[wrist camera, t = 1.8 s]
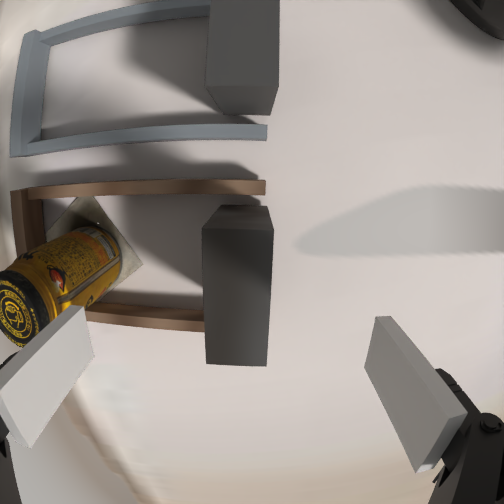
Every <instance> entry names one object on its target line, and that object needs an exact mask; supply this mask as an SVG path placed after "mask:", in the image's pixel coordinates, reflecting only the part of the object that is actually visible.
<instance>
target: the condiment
mask: <svg viewBox="0 0 504 504" xmlns="http://www.w3.org/2000/svg"><path fill="white" fill-rule="evenodd" d="M97 223H99V224H97ZM44 236H45V239H46V240H47V243H44V244H42V245H40V246H38V247H36V248H34V249H32V250H29V251H27V252H25V253H23V254H21V255H20V256H19V257H18V258H16V259H15V261H14V262H13V264H12V265H10V266H9V267H8V268H6V270H4V271H1V272H0V329H1V330H2V332H3V333H4V334H5V335H6V336H7V337H8V339H10V340H11V341H12V342H13V343H15V344H16V345H17V346H19V347H22V348H23V347H24V346H26V345H27V344H28V343H29V342H30V341H31V340H32V339H33V338H34V337H35V336H36V335H37V334H38V333H40V332H41V331H42V330H43V329H44V328H45V327H46V326H47V325H48V324H49V323H51V322H52V321H53V320H54V319H55V318H56V317H57V316H58V315H60V314H61V313H62V312H63V311H64V310H65V309H66V308H68V307H69V306H70V305H76V306H84V311H85V310H86V309H87V308H88V307H89V306H90V305H91V304H92V303H93V302H98V301H99V300H100V299H101V298H103V297H104V296H105V295H106V294H107V293H108V292H110V291H111V290H112V289H113V288H115V287H116V286H117V285H118V284H119V283H121V282H122V281H123V280H124V279H126V278H127V277H128V276H129V275H131V274H132V273H133V272H134V271H136V270H137V269H138V268H139V267H141V266H142V265H143V263H142V262H141V261H140V259H139V258H138V257H137V255H136V254H135V253H134V251H133V250H132V249H131V247H130V246H129V245H128V244H127V242H126V240H125V239H124V238H123V236H122V235H121V234H120V233H119V231H118V230H117V229H116V227H115V226H114V225H113V223H112V222H111V221H110V220H109V218H108V217H107V215H106V214H105V212H104V211H103V210H102V208H101V206H100V205H99V204H98V202H97V201H96V200H95V199H94V197H93V196H83V197H78V198H77V199H76V200H75V201H74V202H73V203H72V204H71V205H70V207H69V208H68V209H67V210H66V211H65V212H64V213H63V214H62V216H61V217H60V218H59V219H58V220H57V221H56V222H55V223H54V224H53V226H52V227H51V228H50V229H49V230H48V231H47V232H46V234H45V235H44Z"/></svg>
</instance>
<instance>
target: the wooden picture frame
mask: <svg viewBox="0 0 504 504" xmlns="http://www.w3.org/2000/svg"><path fill="white" fill-rule="evenodd" d="M265 187H266V181H265V180H253V179H149V180H122V181H103V182H87V183H73V184H61V185H50V186H39V187H30V188H25V189H19V190H14V191H10V195H11V209H12V220H13V230H14V238H15V245H16V252H17V258H18V257H19V256H20V255H21V254H23V253H25V252H27V251H29V250H32V249H34V248H36V247H38V246H40V245H42V244H44V243H45V236H44V227H43V216H42V202H41V199H48V198H64V197H83V196H106V195H140V194H232V195H265ZM273 240H274V228H273V225H272V221H271V218H270V214H269V210H268V207H267V206H252V205H221V206H220V207H219V208H218V209H217V211H216V212H215V213H214V214H213V215H212V217H211V218H210V219H209V220H208V221H207V223H206V224H205V225H204V226H203V227H202V270H203V304H204V310H188V309H172V308H158V307H145V306H133V305H122V304H111V303H101V302H93V303H92V304H91V305H90V306H89V307H88V308H87V309H86V310H85V316H86V321H92V322H100V323H107V324H116V325H124V326H134V327H143V328H154V329H165V330H178V331H191V332H205V349H206V364H216V365H235V366H266V365H267V349H268V333H269V317H270V299H271V281H272V261H273Z"/></svg>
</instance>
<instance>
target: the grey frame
mask: <svg viewBox="0 0 504 504" xmlns="http://www.w3.org/2000/svg"><path fill="white" fill-rule="evenodd" d="M200 16H210V17H209V29H208V42H207V57H206V74H205V87H206V89H207V90H208V92H209V93H210V95H211V96H212V98H213V99H214V101H215V102H216V104H217V105H218V107H219V108H220V110H221V111H222V113H223V114H224V115H268V116H270V114H271V111H272V107H273V104H274V101H275V97H276V94H277V91H278V87H279V22H280V0H162V1H155V2H149V3H143V4H138V5H133V6H128V7H123V8H119V9H115V10H110V11H106V12H102V13H99V14H95V15H91V16H88V17H84V18H81V19H78V20H75V21H72V22H69V23H66V24H63V25H60V26H57V27H54V28H51V29H49V30H46V31H44V32H40V31H38V30H33V31H31V32H28V33H26V34H24V37H23V42H22V46H21V51H20V56H19V61H18V67H17V73H16V80H15V87H14V94H13V103H12V114H11V129H10V157H27V156H34V155H40V154H46V153H53V152H59V151H66V150H73V149H81V148H89V147H98V146H108V145H118V144H130V143H144V142H161V141H186V140H255V141H266V140H267V125H263V124H189V125H167V126H151V127H139V128H128V129H118V130H109V131H101V132H93V133H86V134H79V135H72V136H66V137H60V138H55V139H49V140H44V141H40V140H41V119H42V106H43V96H44V87H45V79H46V72H47V65H48V59H49V53H50V48H51V46H54V45H57V44H60V43H63V42H66V41H69V40H72V39H76V38H79V37H83V36H86V35H90V34H94V33H98V32H102V31H106V30H111V29H115V28H120V27H125V26H130V25H135V24H141V23H147V22H154V21H161V20H168V19H177V18H187V17H200Z"/></svg>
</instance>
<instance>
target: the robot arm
mask: <svg viewBox="0 0 504 504" xmlns="http://www.w3.org/2000/svg"><path fill="white" fill-rule="evenodd" d="M451 1H452V2H453V4H454V5H455V6H456V7H457V8H458V9H459V10H460V11H461V12H462V13H463V14H464V15H465V16H466V17H467V18H469V19H470V20H471V21H472V22H473V23H474V24H476V25H477V26H478V27H479V28H481V29H482V30H484V31H485V32H487V33H488V34H490V35H492V36H494V37H496V38H498V39H501V40H504V0H451ZM93 358H94V352H93V348H92V344H91V339H90V335H89V330H88V326H87V321H86V316H85V311H84V306H76V305H70V306H69V307H68V308H66V309H65V310H64V311H63V312H62V313H61V314H60V315H58V316H57V317H56V318H55V319H54V320H53V321H52V322H51V323H49V324H48V325H47V326H46V327H45V328H44V329H43V330H42V331H41V332H40V333H38V334H37V335H36V336H35V337H34V338H33V339H32V340H31V341H30V342H29V343H28V344H27V345H26V346H24V347H23V348H22V349H21V350H20V351H18V352H16V353H14V354H13V355H11V356H9V357H8V358H7V359H6V360H5V361H4V362H3V364H1V365H0V504H22V502H21V499H20V495H19V491H18V487H17V483H16V478H15V474H14V469H13V464H12V459H11V452H10V446H9V442H8V440H7V438H6V436H7V434H8V433H9V432H10V433H11V435H12V437H13V438H14V440H15V442H16V443H18V444H20V445H23V446H25V447H27V448H29V449H31V447H32V446H33V444H34V443H35V441H36V439H37V438H38V437H39V435H40V434H41V432H42V430H43V429H44V427H45V426H46V424H47V423H48V421H49V420H50V418H51V417H52V415H53V414H54V413H55V411H56V410H57V408H58V407H59V405H60V404H61V402H62V401H63V399H64V398H65V397H66V395H67V394H68V392H69V391H70V389H71V388H72V387H73V385H74V384H75V382H76V381H77V380H78V378H79V377H80V375H81V374H82V373H83V371H84V370H85V369H86V367H87V366H88V364H89V363H90V362H91V360H92V359H93ZM364 368H365V370H366V372H367V374H368V376H369V378H370V380H371V382H372V384H373V386H374V388H375V390H376V392H377V394H378V396H379V398H380V400H381V402H382V404H383V406H384V408H385V410H386V412H387V414H388V416H389V418H390V420H391V422H392V424H393V426H394V428H395V430H396V432H397V434H398V437H399V439H400V441H401V443H402V445H403V447H404V449H405V451H406V454H407V456H408V458H409V460H410V462H411V464H412V467H413V469H414V471H415V473H419V472H423V471H426V470H429V469H433V468H434V467H435V466H436V464H437V463H438V461H439V460H440V458H442V460H443V462H444V464H445V465H444V466H443V468H442V469H441V471H440V472H439V473H438V475H437V476H436V477H435V479H434V480H433V483H435V482H436V481H437V483H436V485H435V488H434V491H433V493H432V496H431V498H430V500H429V503H428V504H504V423H503V422H502V420H501V419H500V418H499V417H497V416H496V415H493V414H491V413H480V411H479V410H478V409H477V408H476V406H475V405H474V404H473V402H472V401H471V400H470V399H469V397H468V396H467V395H466V394H465V392H464V391H462V389H461V387H460V386H459V385H457V382H456V381H455V380H454V379H453V377H452V376H451V375H450V374H448V373H447V372H445V371H444V370H442V369H441V368H439V369H434V368H433V367H432V365H431V364H430V363H429V362H428V360H427V359H426V358H425V357H424V355H423V354H422V353H421V352H420V350H419V349H418V348H417V347H416V346H415V344H414V343H413V342H412V341H411V339H410V338H409V337H408V336H407V335H406V333H405V332H404V331H403V330H402V329H401V327H400V326H399V325H398V324H397V323H396V322H395V320H394V319H393V318H392V317H391V316H382V317H376V318H375V323H374V328H373V332H372V337H371V341H370V346H369V350H368V354H367V358H366V362H365V366H364ZM437 479H438V480H437Z"/></svg>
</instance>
